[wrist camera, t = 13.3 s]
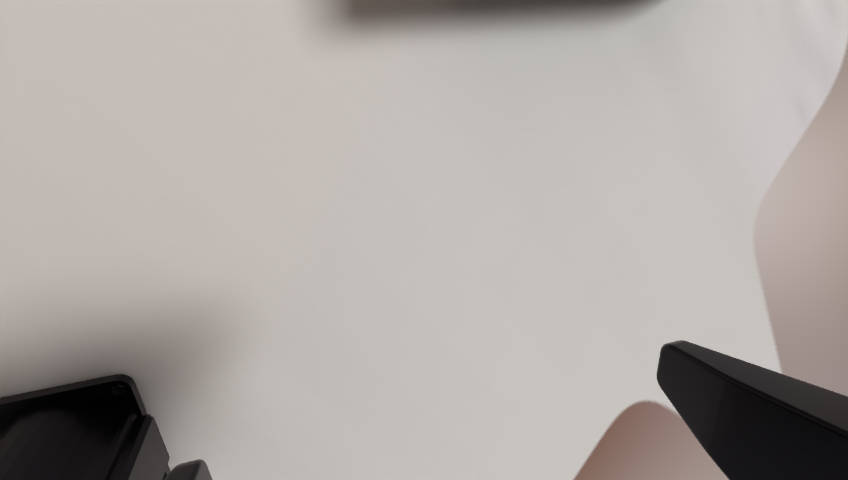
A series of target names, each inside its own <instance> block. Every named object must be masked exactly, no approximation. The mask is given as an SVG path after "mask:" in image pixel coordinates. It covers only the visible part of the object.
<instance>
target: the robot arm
mask: <svg viewBox="0 0 848 480" xmlns="http://www.w3.org/2000/svg"><path fill="white" fill-rule="evenodd" d="M657 380H658V383H659V385H660V387H661V389H662V390H663V392H664V393H665V395H666V396H667V397H668V399H669V400H670V402H671V403H672V404H673V406H674V407H675V409H676V410H677V411H678V413H679V414H680V416H681V417H682V419H683V420H684V421H685V423H686V424H687V426H688V427H689V428H690V430H691V431H692V433H693V434H694V436H695V437H696V438H697V439H698V441H699V442H700V444H701V445H702V447H703V448H704V449H705V451H706V452H707V453H708V455H709V456H710V457H711V458H712V459H713V461H714V462H715V463H716V464H717V465H718V467H719V468H720V469H721V470H722V472H723V473H724V474H725V475H726V476H727V478H729V480H848V397H847V396H845V395H842V394H839V393H836V392H833V391H830V390H827V389H824V388H821V387H818V386H815V385H812V384H809V383H807V382H804V381H800V380H798V379H795V378H792V377H789V376H786V375H783V374H780V373H777V372H774V371H772V370H769V369H766V368H763V367H760V366H757V365H754V364H751V363H748V362H745V361H742V360H739V359H736V358H734V357H731V356H728V355H725V354H722V353H719V352H716V351H713V350H710V349H707V348H704V347H701V346H699V345H696V344H693V343H690V342H687V341H682V340H680V341H675V342H671V343H667V344H665V345H663V347H662V348H661V352H660V358H659V363H658V369H657ZM117 385H120V386H122V387H124V389H118V388H116V387H115V386H117ZM168 461H169V455H168V452H167V449H166V447H165V444H164V442H163V439H162V437H161V434H160V432H159V429H158V427H157V424H156V422H155V419H154V418H153V417H152V416H151V415H149V414H147V412H146V409H145V407H144V404H143V402H142V399H141V397H140V394H139V392H138V389H137V387H136V384H135V382H134V380H133V379H132V378H131V377H129V376H127V375H123V374H122V375H114V376H109V377H104V378H99V379H94V380H89V381H85V382H80V383H75V384H70V385H65V386H60V387H55V388H50V389H45V390H41V391H36V392H31V393H26V394H21V395H16V396H11V397H6V398H1V399H0V480H212V477H211V475H210V472H209V470H208V467H207V465H206V463H205V462H204V461H203V460H194V461H190V462H186V463H182V464H179V465H177V466H176V467H175V468H174V469H173V470H172V471H170V469H169V466H168Z"/></svg>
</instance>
